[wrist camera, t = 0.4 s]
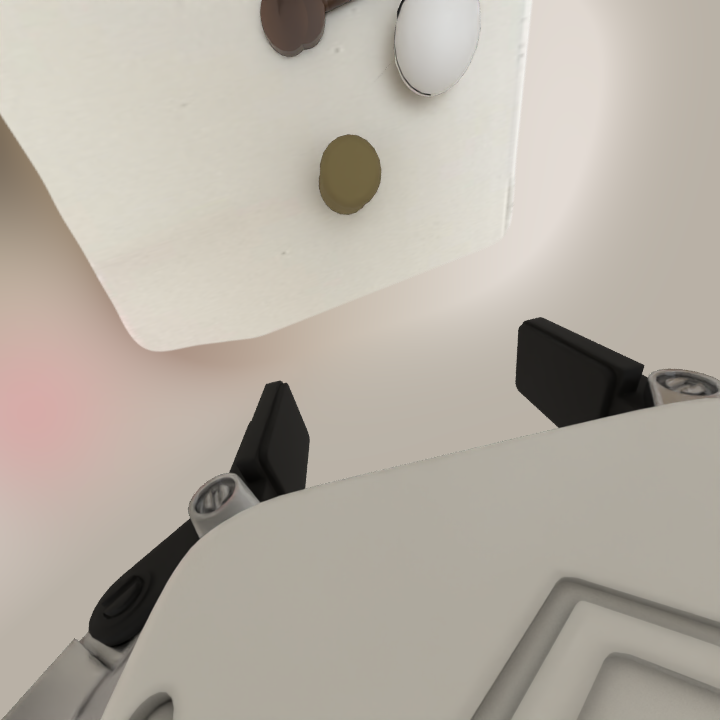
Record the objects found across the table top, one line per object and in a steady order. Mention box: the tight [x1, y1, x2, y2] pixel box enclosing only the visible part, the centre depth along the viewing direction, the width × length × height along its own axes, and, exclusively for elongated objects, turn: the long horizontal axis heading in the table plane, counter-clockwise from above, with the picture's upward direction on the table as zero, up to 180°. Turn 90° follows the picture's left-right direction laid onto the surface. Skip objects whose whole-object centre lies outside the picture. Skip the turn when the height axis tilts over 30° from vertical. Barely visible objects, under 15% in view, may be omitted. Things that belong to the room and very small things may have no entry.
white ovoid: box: [385, 0, 481, 97], centre depth 24 cm, size 10×7×7 cm
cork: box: [319, 134, 381, 215], centre depth 27 cm, size 6×6×11 cm
